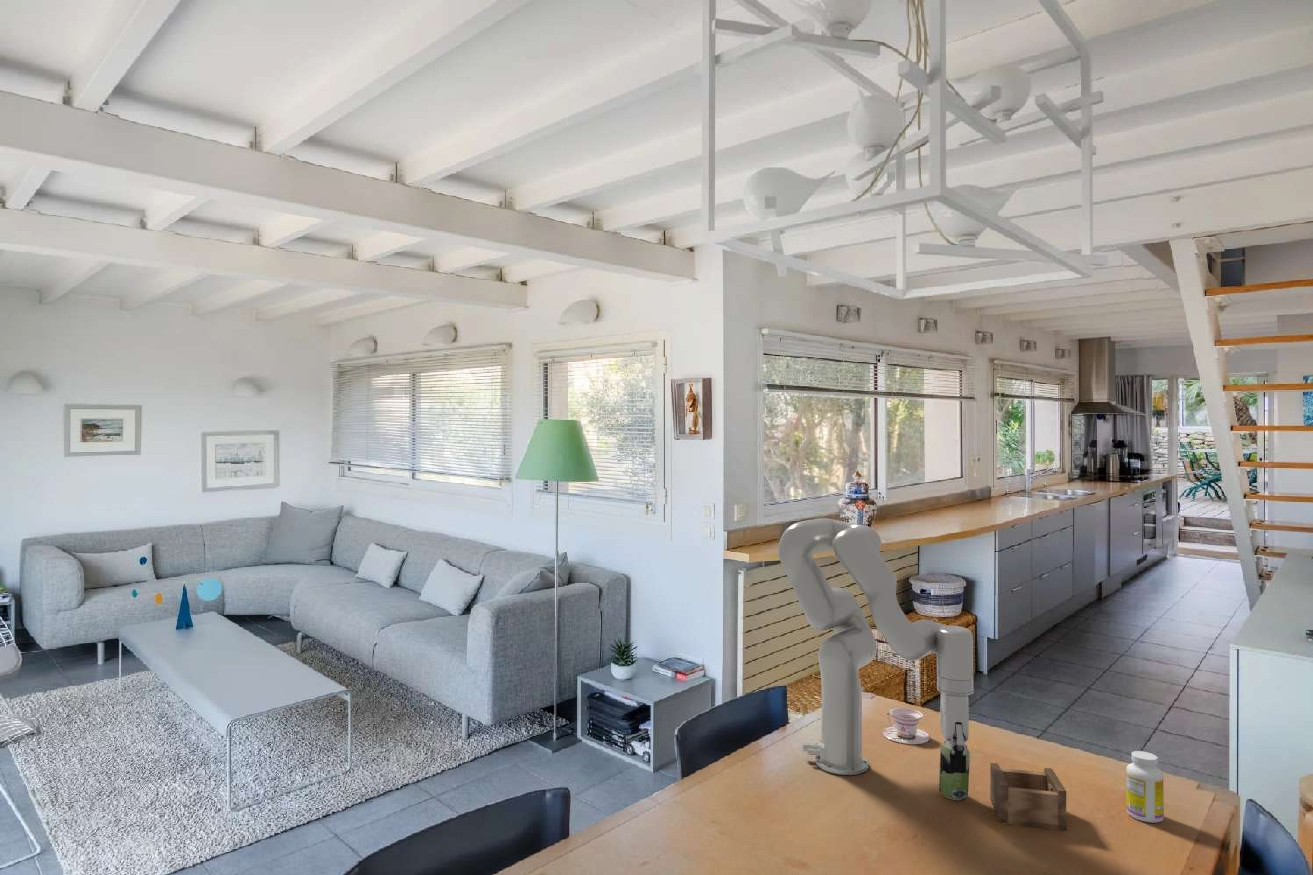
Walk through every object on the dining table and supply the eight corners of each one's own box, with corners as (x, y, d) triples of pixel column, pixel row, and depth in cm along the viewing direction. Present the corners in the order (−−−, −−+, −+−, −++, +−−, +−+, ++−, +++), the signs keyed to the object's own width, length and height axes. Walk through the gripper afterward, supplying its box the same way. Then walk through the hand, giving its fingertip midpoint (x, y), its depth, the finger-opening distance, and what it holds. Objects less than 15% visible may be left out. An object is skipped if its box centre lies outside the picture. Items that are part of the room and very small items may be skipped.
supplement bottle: (1158, 811, 165) (1158, 751, 165) (1167, 826, 158) (1168, 763, 158) (1122, 806, 167) (1122, 747, 167) (1130, 820, 161) (1130, 759, 161)
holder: (1000, 823, 159) (1000, 784, 159) (990, 798, 170) (990, 762, 170) (1066, 830, 157) (1066, 790, 157) (1051, 805, 167) (1051, 768, 167)
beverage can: (963, 791, 174) (964, 737, 174) (973, 805, 167) (975, 749, 167) (934, 789, 174) (936, 735, 175) (943, 803, 167) (945, 746, 168)
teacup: (931, 732, 209) (931, 709, 209) (927, 748, 198) (927, 724, 198) (885, 725, 214) (885, 702, 214) (879, 740, 203) (879, 717, 203)
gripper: (932, 671, 180) (933, 749, 179) (941, 695, 163) (942, 780, 163) (967, 673, 178) (967, 751, 178) (980, 697, 161) (980, 784, 161)
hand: (955, 764), depth 170 cm, fingers closed on beverage can, 6 cm apart
